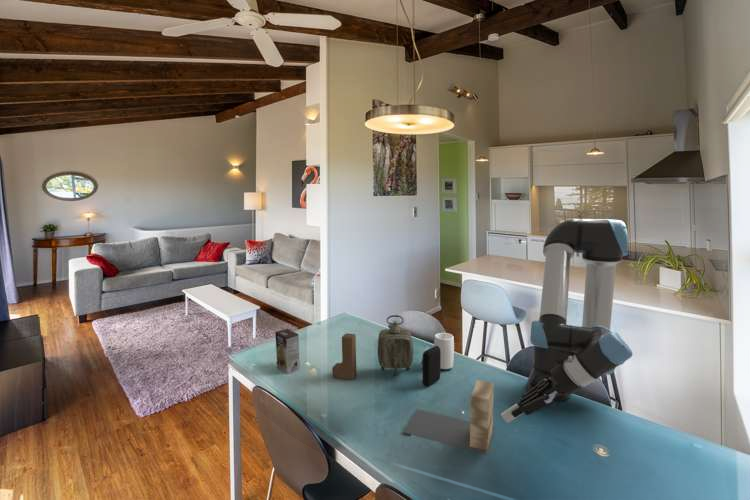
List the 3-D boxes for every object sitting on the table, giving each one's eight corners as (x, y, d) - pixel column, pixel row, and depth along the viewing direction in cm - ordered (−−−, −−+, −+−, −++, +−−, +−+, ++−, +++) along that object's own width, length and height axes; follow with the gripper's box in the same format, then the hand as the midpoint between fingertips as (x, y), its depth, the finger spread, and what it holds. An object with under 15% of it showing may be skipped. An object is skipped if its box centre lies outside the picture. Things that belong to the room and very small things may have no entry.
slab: (492, 431, 120) (494, 383, 118) (487, 450, 111) (488, 399, 109) (476, 427, 122) (477, 380, 120) (469, 446, 113) (471, 395, 111)
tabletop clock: (412, 368, 165) (412, 312, 161) (413, 378, 156) (413, 319, 152) (378, 368, 165) (377, 312, 161) (377, 378, 156) (377, 319, 152)
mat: (495, 429, 122) (495, 427, 122) (488, 456, 110) (488, 454, 110) (416, 410, 133) (416, 408, 133) (402, 433, 121) (402, 431, 120)
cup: (456, 366, 166) (457, 334, 164) (449, 374, 159) (449, 341, 157) (438, 361, 171) (438, 331, 169) (430, 369, 164) (430, 337, 162)
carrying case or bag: (425, 390, 146) (425, 353, 144) (418, 387, 148) (419, 351, 146) (441, 380, 154) (442, 345, 151) (435, 378, 156) (436, 343, 154)
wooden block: (332, 377, 157) (330, 335, 155) (336, 372, 161) (335, 331, 159) (352, 380, 155) (351, 338, 152) (356, 375, 159) (355, 333, 156)
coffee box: (276, 367, 167) (274, 331, 165) (289, 362, 172) (287, 328, 169) (287, 374, 161) (285, 337, 158) (300, 369, 165) (298, 333, 162)
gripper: (561, 354, 110) (498, 396, 119) (562, 374, 98) (492, 419, 107) (580, 375, 108) (515, 416, 118) (584, 398, 97) (511, 441, 106)
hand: (504, 418), depth 113 cm, fingers closed
